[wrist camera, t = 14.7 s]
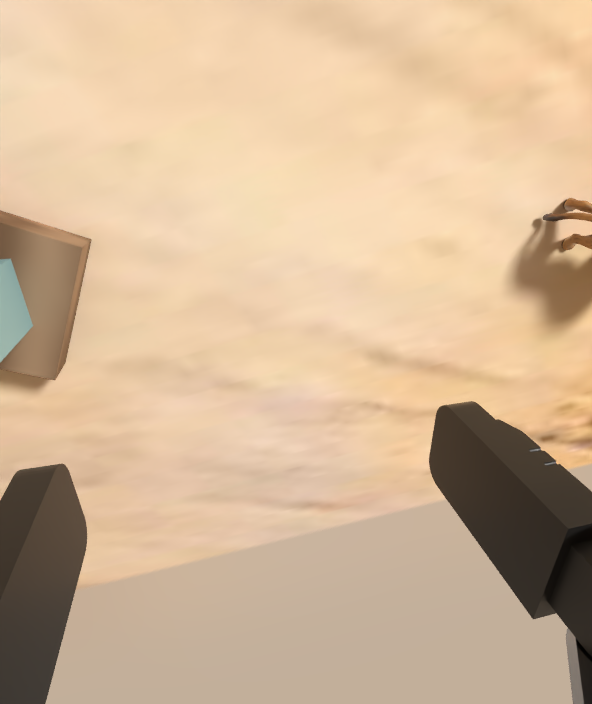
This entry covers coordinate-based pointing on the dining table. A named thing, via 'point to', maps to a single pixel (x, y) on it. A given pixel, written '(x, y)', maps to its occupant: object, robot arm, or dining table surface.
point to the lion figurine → (571, 205)
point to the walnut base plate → (43, 291)
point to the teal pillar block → (11, 309)
